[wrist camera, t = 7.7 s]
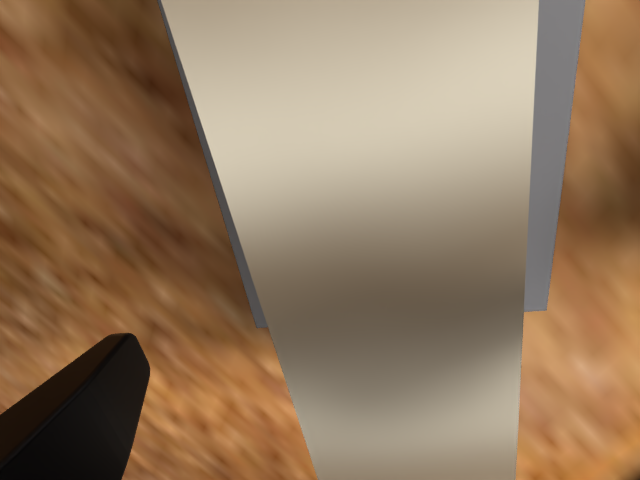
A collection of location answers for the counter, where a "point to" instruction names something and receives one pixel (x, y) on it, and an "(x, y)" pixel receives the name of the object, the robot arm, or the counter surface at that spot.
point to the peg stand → (546, 159)
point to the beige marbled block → (379, 214)
